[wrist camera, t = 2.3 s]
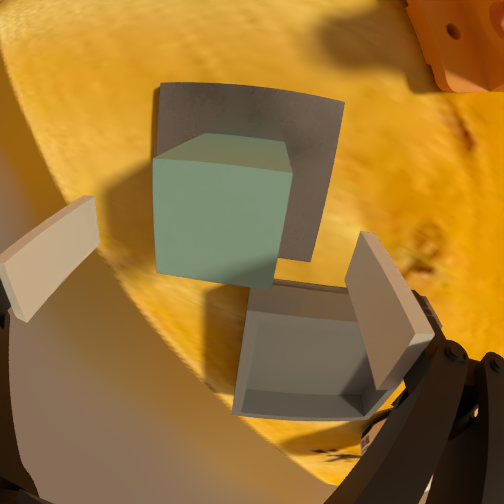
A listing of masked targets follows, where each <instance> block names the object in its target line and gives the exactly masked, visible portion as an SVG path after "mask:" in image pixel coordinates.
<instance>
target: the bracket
mask: <svg viewBox="0 0 504 504" xmlns="http://www.w3.org/2000/svg"><path fill="white" fill-rule="evenodd" d="M406 1H407V3H408V6H407V7H405V9H406V11H407V13H408V16H409V18H410V20H411V23H412V25H413V28H414V30H415V33H416V36H417V38H418V41H419V44H420V47H421V50H422V53H423V56H424V59H425V62H426V64H431V67H432V71H433V74H434V78H435V82H436V84H437V86H438V87H439V88H440V89H441V90H442V91H444V92H457V93H461V92H504V0H406Z"/></svg>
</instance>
